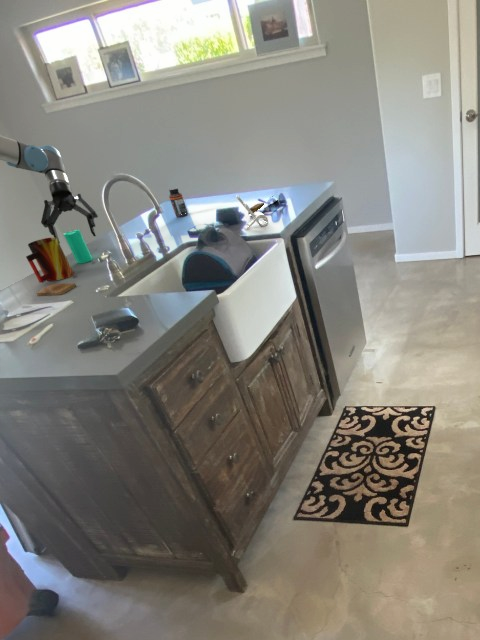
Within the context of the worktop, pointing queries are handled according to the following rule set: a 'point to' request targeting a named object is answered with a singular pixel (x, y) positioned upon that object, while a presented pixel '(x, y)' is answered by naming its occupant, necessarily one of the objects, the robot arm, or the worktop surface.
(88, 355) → the worktop surface
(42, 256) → the mug
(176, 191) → the supplement bottle
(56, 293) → the cork mat
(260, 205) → the tap handle
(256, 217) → the plastic part
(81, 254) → the candle
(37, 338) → the worktop surface
